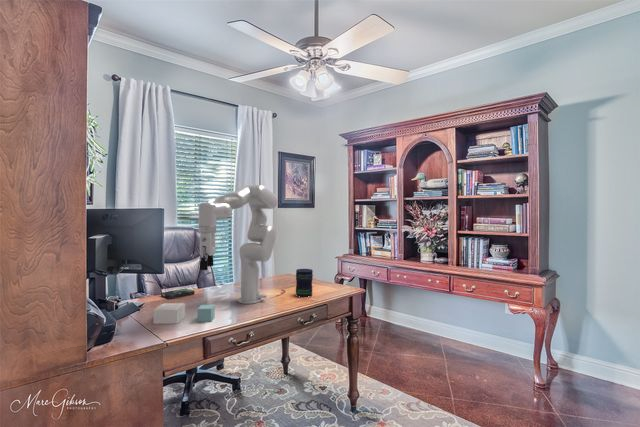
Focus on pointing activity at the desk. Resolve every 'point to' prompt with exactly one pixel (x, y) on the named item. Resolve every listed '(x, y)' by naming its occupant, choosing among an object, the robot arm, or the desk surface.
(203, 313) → the teal cube
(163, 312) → the cream block
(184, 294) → the disk drive
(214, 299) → the desk surface
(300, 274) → the storage jar
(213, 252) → the robot arm
